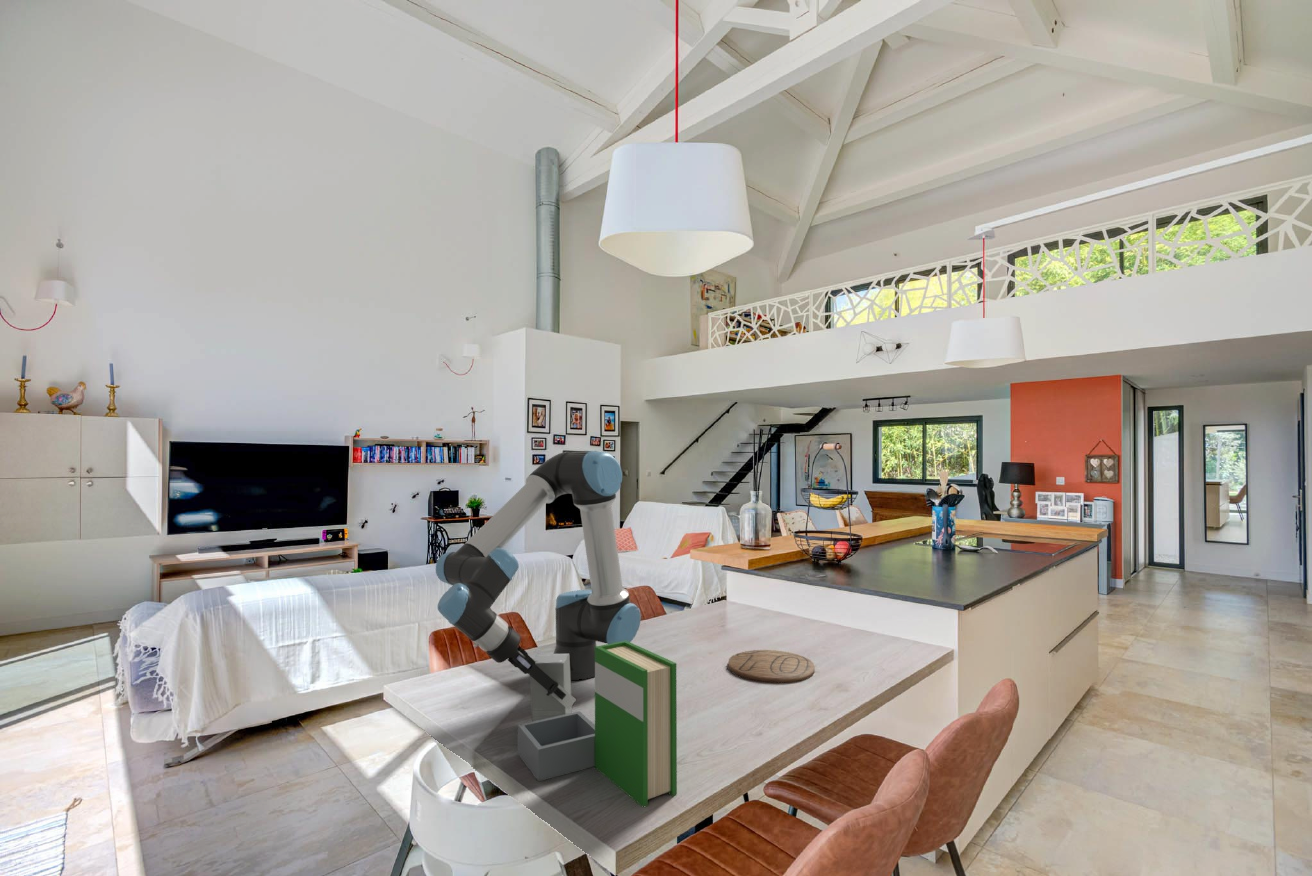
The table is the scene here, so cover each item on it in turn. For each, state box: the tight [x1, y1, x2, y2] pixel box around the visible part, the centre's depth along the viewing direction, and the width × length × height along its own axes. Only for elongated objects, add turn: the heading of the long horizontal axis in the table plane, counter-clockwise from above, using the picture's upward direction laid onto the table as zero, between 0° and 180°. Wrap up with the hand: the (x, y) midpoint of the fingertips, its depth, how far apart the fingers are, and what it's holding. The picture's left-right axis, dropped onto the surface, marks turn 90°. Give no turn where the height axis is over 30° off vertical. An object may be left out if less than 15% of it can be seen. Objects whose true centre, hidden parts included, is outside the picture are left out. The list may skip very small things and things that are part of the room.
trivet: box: [727, 649, 816, 685], centre depth 185 cm, size 25×25×2 cm
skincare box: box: [529, 653, 573, 722], centre depth 146 cm, size 8×7×16 cm
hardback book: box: [594, 641, 678, 808], centre depth 121 cm, size 18×7×24 cm, turn 35°
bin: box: [517, 711, 595, 782], centre depth 130 cm, size 13×14×6 cm
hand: (563, 696), depth 147 cm, fingers closed on skincare box, 9 cm apart
